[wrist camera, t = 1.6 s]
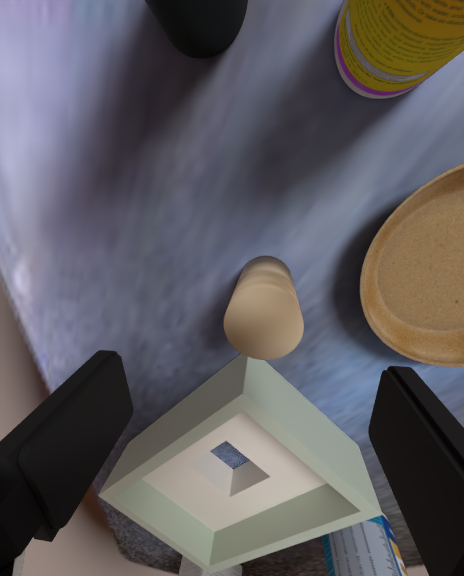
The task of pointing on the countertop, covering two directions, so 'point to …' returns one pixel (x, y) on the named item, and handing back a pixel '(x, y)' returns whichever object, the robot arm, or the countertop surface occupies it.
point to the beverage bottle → (363, 550)
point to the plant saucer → (420, 274)
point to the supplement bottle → (396, 43)
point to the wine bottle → (200, 23)
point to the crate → (241, 471)
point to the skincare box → (191, 572)
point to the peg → (264, 311)
